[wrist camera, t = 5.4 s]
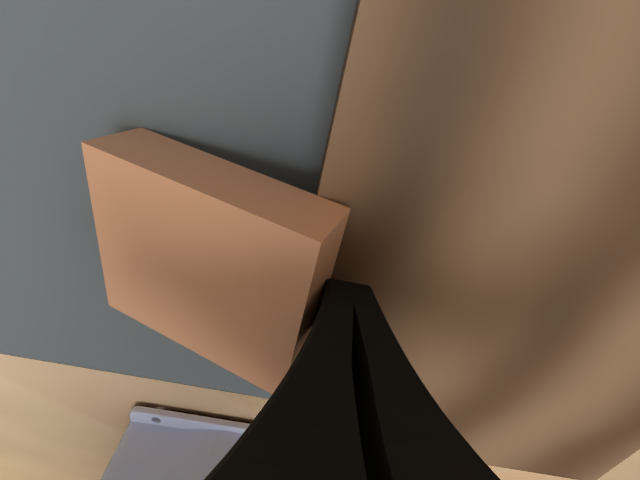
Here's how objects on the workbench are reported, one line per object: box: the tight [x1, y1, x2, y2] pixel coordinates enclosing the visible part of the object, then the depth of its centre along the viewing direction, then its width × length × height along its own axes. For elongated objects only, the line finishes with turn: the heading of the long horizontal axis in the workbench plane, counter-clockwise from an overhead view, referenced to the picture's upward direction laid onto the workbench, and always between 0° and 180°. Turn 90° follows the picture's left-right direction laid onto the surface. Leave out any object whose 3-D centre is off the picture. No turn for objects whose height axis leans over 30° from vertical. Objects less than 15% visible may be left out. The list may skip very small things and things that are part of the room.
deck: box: [315, 0, 640, 480], centre depth 12 cm, size 16×20×2 cm
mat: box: [0, 0, 357, 399], centre depth 12 cm, size 16×22×1 cm
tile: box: [81, 127, 351, 394], centre depth 11 cm, size 7×6×2 cm
